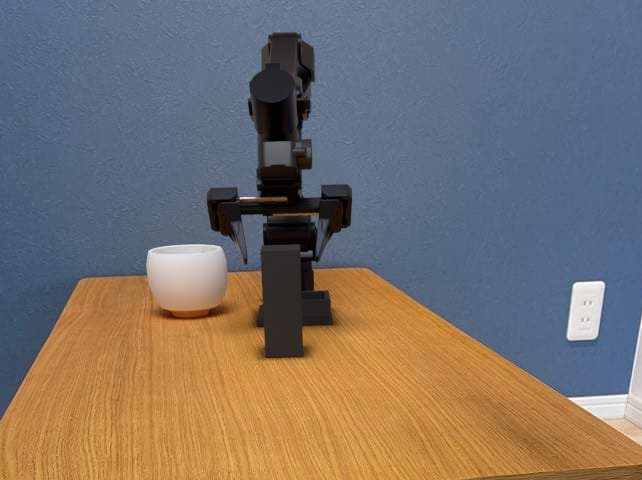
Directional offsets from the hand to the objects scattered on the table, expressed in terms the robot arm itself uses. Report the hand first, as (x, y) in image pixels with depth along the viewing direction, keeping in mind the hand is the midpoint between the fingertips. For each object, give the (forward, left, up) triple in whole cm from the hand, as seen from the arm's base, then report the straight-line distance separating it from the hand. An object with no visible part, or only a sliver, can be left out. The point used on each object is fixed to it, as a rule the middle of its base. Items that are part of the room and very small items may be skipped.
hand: (281, 261), depth 109 cm
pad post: (+3, -3, -11) cm, 11 cm away
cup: (-25, +8, -11) cm, 29 cm away
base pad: (-10, +14, -11) cm, 20 cm away
